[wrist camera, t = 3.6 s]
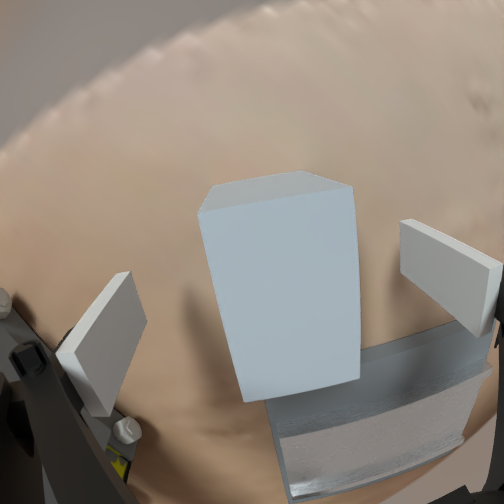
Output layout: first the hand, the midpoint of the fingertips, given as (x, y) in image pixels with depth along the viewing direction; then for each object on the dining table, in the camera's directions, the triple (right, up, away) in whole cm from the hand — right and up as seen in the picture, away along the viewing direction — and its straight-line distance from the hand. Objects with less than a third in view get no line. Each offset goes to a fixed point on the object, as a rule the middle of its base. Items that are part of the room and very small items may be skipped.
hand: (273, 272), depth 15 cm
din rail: (+11, -15, +9) cm, 21 cm away
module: (0, +1, +4) cm, 4 cm away
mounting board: (+11, -15, +10) cm, 21 cm away
